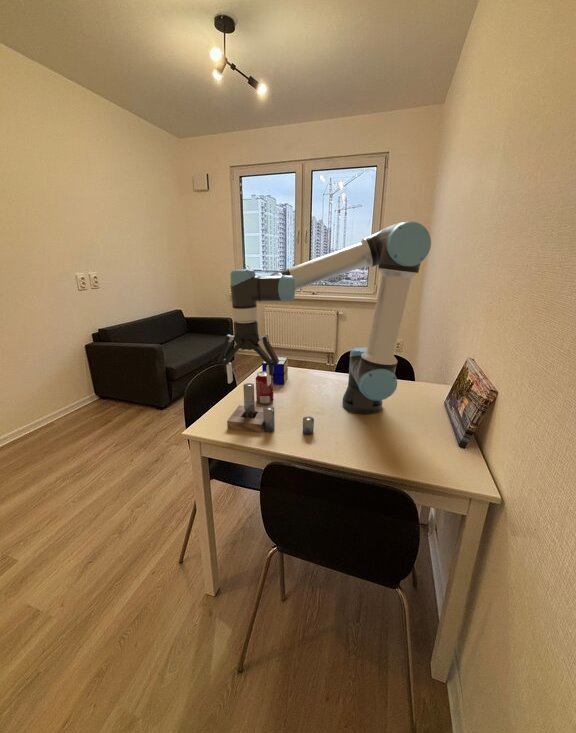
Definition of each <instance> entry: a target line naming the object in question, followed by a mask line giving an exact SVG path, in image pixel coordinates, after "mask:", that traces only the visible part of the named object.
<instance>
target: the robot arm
mask: <svg viewBox="0 0 576 733" xmlns="http://www.w3.org/2000/svg"><path fill="white" fill-rule="evenodd" d="M431 247H432V238H431V234H430V232H429V231H428V229H427V228H426V227H425V226H424V225H423V224H421V223H420V222H417V221H413V220H412V221H411V220H410V221H409V220H408V221H406V220H404V221H401V222H398V223H394V224H391V225H389V226H386V227H385V228H383V229H380V230H379V231H378V232H375V233H373V234H371V235H369V236H366V237H364V238H362V239H361V241H360V242H359V243H356V244H353V245H350V246H348V247H345V248H342V249H339V250H337V251H334V252H331V253H328V254H324V255H322V256H319V257H317V258H314V259H311V260H309V261H305V262H303V263H300V264H297V265H294V266H291V267H289V268H287V269H286V268H285V269H283V270H280V271H277V272H273V273H271V274H270V275H257V274H256V272H255V270H254V269H251V268H247V269H246V268H243V269H233V270H232V271H231V272H230V285H229V287H230V294H231V295H230V296H231V303H232V305H231V306H232V318H233V319H232V320H233V333H234V335H231V333H230V334H229V333H228V334H227V335H226V336H225V337H224V343H223V346H222V349H221V351H220V354H219V357H218V359H217V363H219V364H223V370H224V373H225V374H227V377H226V378H227V384H231V383H232V382H233V381H234V378H233V367H232V364H233V363H232V362H230V361H231V360H232V359H233V357H234V356H235V355H236V353H238V351H239V349H241V351H242V350H248V351H252V350H253V351H254V352H255V353H257V354H258V356H259V357H260V358H261V359H262V360H263V362H264V361H265V362H266V363H267V364H268V365H267V367H266V371H267V386H270V384H271V375H273V373H274V365H277V364H278V362H279V360H278V356H277V354H276V353H275V350H274V349H273V347H272V344H271V343H270V341H269V339H270V338H269V335H267V334H265V335H262V336H260V335H259V322H258V308H257V307H258V304H257V302H286V301H294V300H295V297H296V291H297V290H299V289H302V288H303V289H304V288H306V287H308V286H311V285H314V284H317V283H319V282H323V281H326V280H328V279H331V278H335V277H337V276H341V275H344V274H346V273H350V272H352V271H355V270H358V269H361V268H363V267H369V268H373V267H377V266H378V267H377V270H378V271H379V273H380V275H381V278H380V283H379V288H378V294H377V298H376V302H375V308H374V314H373V316H372V317H373V318H372V324H371V329H370V334H369V338H368V342H367V343H368V344H367V347H365V346H363V347H362V346H361V347H354V348H352V349H351V350H350V354H349V364H348V366H349V367H348V382H347V383H348V384H347V387H346V389H345V392H344V394H343V397H342V400H341V401H342V403H341V404H342V407H344V408H345V410H347V411H349V412H351V413H355V414H360V415H361V414H362V415H372V414H377V413H379V412H380V411H381V410H382V408H383V401H384V400H387V399H388V398H390V397H391V396H393V395H394V393H395V392H396V390H397V387H398V378H397V376H396V370H397V365H398V360H397V358H396V357H395V353H396V348H397V344H398V339H399V335H400V332H401V330H400V329H401V325H402V320H403V319H404V318H403V317H404V312H405V309H406V305H407V304H406V303H407V301H408V300H407V299H408V294H409V291H410V286H411V283H412V279H413V278H415V277H416V276H417V275H418V274H419V271H420V268H421V263H422V262H423V261H424V260H425V259H426V258H427V256H428V255H429V254H430V250H431ZM233 341H234V342H235V344H236V345H235V346H234V347H233V349H232V350H231V351H230V353H229V354H227V353H228V350H229V349H230V346H231V343H232V342H233ZM259 342H261V343H262V344H263V346H264V348H265V350H266V351H265V350H264V349H263V348H262V346H261V345H260V344H259ZM266 352H267V353H266ZM226 355H227V357H226ZM270 357H271V358H270Z"/></svg>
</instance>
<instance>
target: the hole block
mask: <svg viewBox="0 0 576 733" xmlns="http://www.w3.org/2000/svg"><path fill="white" fill-rule="evenodd" d="M263 408H264V407H261V406H255V418H245V410H244V405H242V404H241V405H240V404H239V405H238V406H237V407H236V409H235V410H234V411H232V414H231V415H230V416H229V417H228V419H227V421H226V423H227V424H226V427H227V428H226V429H228V430H235V431H242V432H243V431H244V432H253V433H254V432H255V433H263V432H264V416H263Z"/></svg>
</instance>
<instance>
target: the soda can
mask: <svg viewBox="0 0 576 733" xmlns="http://www.w3.org/2000/svg"><path fill="white" fill-rule="evenodd" d="M255 392H256V393H255V395H256V396H255V397H256V402H257V403H259V404H260V405H269V404H271V403H273V401H274V384H273V376H272V375H271V384H270V386H267V371H258V372H257V373H256V376H255Z"/></svg>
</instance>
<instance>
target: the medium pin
mask: <svg viewBox="0 0 576 733" xmlns="http://www.w3.org/2000/svg"><path fill="white" fill-rule="evenodd" d="M263 416H264V429H263V432H265V433H268V434H272V433H274V432H275V429H276V428H275V426H276V425H275V406H274V407H273V406H272V405H267V406H265V407H263Z"/></svg>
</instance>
